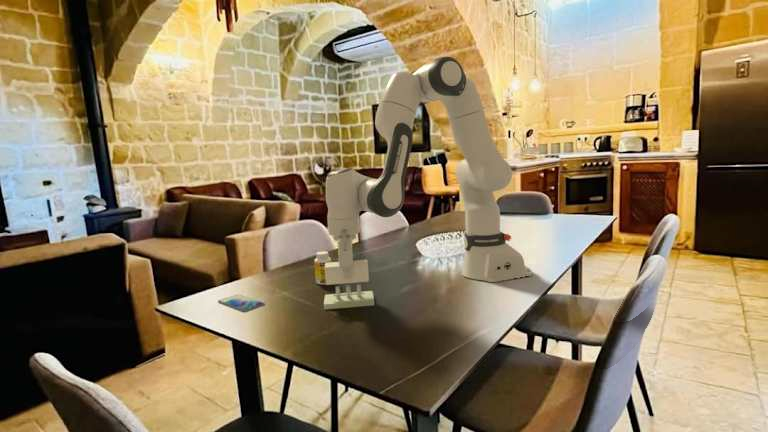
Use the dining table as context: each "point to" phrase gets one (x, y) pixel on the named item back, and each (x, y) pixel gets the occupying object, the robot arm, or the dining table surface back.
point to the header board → (348, 298)
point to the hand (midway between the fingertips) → (347, 274)
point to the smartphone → (241, 303)
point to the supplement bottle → (321, 266)
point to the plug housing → (337, 275)
